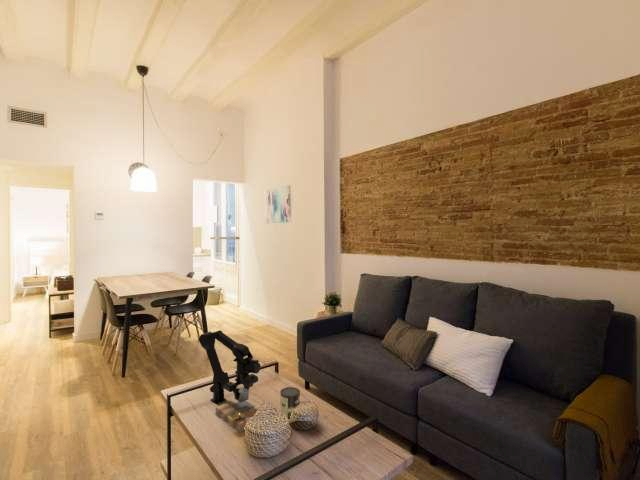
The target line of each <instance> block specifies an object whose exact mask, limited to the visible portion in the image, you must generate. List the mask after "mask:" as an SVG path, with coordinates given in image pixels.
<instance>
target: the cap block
mask: <svg viewBox="0 0 640 480" xmlns="http://www.w3.org/2000/svg"><path fill="white" fill-rule="evenodd" d="M238 388H239V389H240V390H239V394H238V400H237V399H236V397H235V396H234V400H235V401H238V402H244V401H248V400H249V395H250V393H249V390H250V389H249V390H247V389H245V388H244V386H241V387H238Z"/></svg>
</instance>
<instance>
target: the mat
mask: <svg viewBox="0 0 640 480" xmlns="http://www.w3.org/2000/svg"><path fill="white" fill-rule="evenodd" d="M230 406H231V407H233V408H234V409H236V410H238V411H239V412H241V413H242V414H243V413H244V412H246V411H248V410H251V409H252V408H254V407H255V405H253V404H252V403H250V402H249V401H248V400H246V401H244V402H239V401H238V402H235V403H233V404H230Z"/></svg>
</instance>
